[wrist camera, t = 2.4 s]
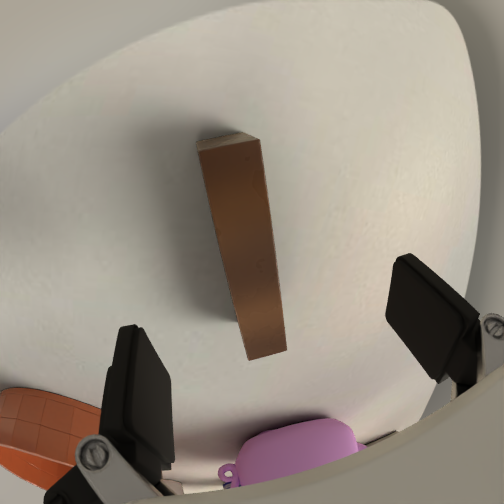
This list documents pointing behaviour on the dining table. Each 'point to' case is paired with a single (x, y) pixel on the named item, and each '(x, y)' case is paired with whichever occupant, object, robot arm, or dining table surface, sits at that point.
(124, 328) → the robot arm
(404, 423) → the dining table surface
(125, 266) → the dining table surface
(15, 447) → the bowl
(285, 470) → the teapot
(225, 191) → the brown wooden bar
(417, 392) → the dining table surface
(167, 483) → the coffee cup
